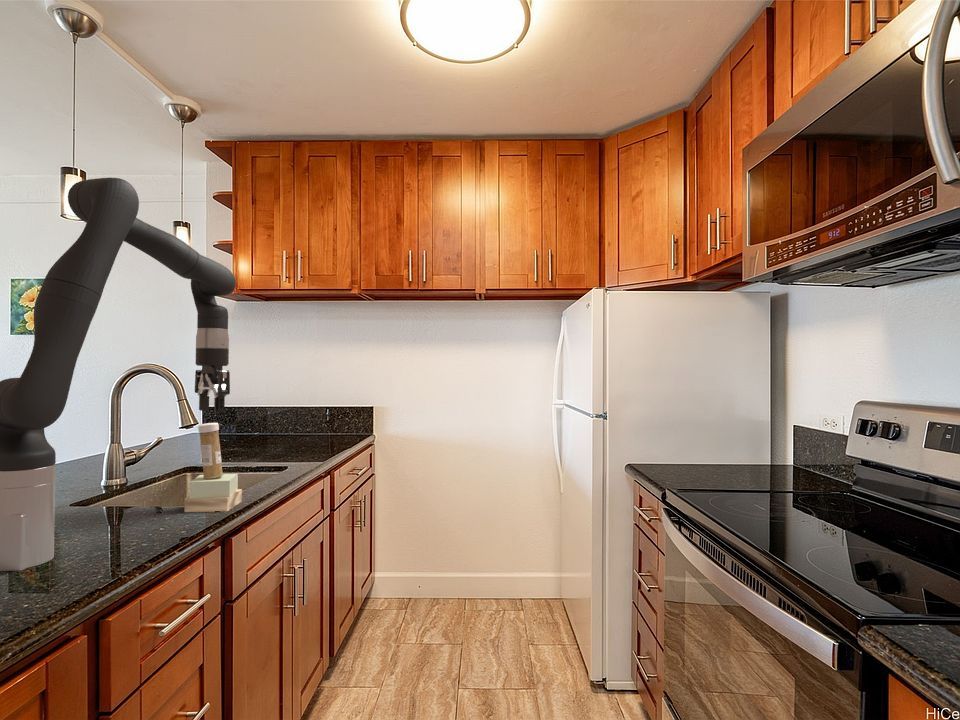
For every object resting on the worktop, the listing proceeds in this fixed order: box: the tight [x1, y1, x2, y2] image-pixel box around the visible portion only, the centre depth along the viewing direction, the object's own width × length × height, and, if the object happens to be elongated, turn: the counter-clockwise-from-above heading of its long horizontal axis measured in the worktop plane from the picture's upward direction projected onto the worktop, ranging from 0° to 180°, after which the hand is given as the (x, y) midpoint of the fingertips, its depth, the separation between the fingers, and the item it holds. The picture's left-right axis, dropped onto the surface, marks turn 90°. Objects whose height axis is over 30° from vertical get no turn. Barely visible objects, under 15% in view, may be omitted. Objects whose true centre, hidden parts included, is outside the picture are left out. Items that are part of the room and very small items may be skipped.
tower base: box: [184, 488, 243, 513], centre depth 139 cm, size 10×10×4 cm
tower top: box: [188, 473, 239, 499], centre depth 139 cm, size 9×9×4 cm
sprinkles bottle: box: [197, 422, 224, 479], centre depth 138 cm, size 5×5×13 cm
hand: (211, 411), depth 140 cm, fingers open, 8 cm apart
